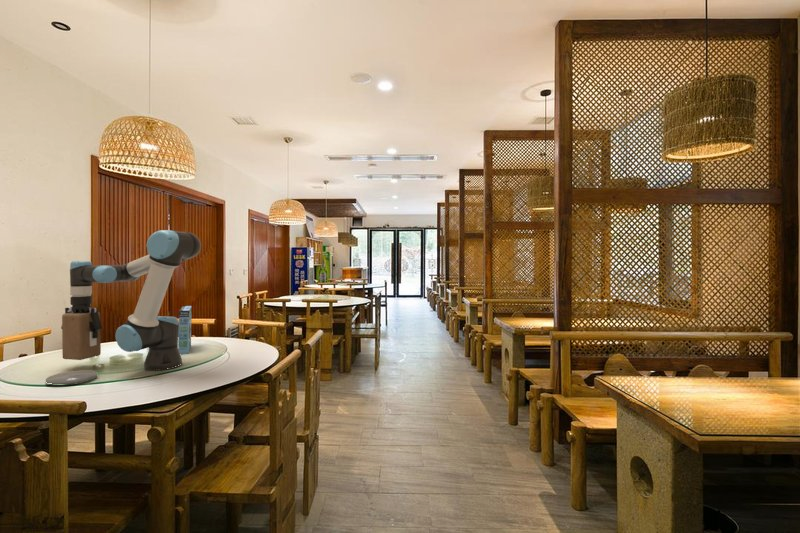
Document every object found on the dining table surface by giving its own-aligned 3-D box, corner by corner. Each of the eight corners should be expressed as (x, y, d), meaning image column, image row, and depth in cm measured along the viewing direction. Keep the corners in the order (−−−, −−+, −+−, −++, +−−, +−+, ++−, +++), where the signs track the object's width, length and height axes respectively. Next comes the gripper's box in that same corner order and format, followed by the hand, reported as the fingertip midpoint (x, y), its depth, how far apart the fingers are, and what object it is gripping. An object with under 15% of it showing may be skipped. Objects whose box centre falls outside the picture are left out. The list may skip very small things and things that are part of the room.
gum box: (181, 346, 223) (181, 306, 223) (191, 346, 225) (192, 305, 225) (177, 354, 205) (178, 310, 205) (188, 354, 207) (189, 310, 207)
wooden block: (80, 360, 172) (79, 314, 171) (61, 359, 174) (60, 313, 173) (101, 355, 181) (101, 311, 181) (83, 354, 183) (83, 310, 183)
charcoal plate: (107, 376, 168) (107, 371, 168) (71, 388, 152) (71, 383, 152) (72, 374, 169) (72, 369, 169) (34, 386, 153) (34, 380, 153)
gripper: (111, 295, 180) (112, 344, 180) (66, 294, 182) (66, 342, 182) (97, 296, 172) (98, 347, 172) (49, 296, 175) (50, 346, 175)
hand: (81, 345), depth 177 cm, fingers closed on wooden block, 10 cm apart
